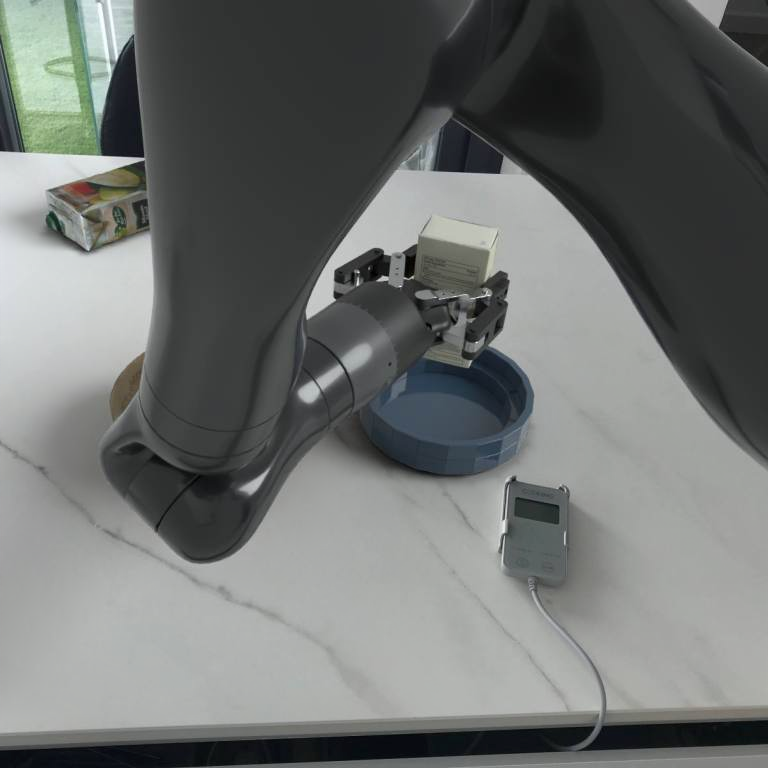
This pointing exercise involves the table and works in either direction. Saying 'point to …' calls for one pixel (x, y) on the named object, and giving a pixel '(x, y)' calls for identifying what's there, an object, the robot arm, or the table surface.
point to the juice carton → (101, 206)
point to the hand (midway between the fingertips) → (464, 265)
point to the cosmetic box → (454, 266)
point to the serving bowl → (453, 414)
